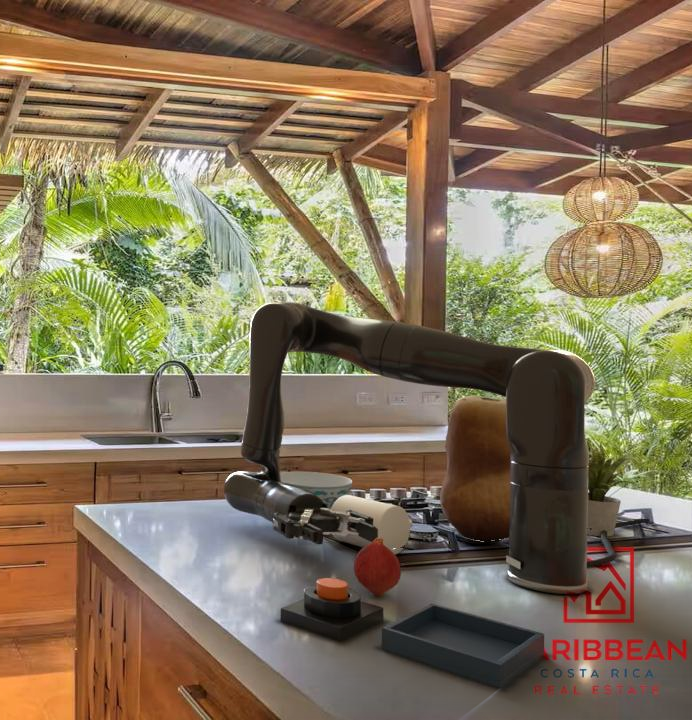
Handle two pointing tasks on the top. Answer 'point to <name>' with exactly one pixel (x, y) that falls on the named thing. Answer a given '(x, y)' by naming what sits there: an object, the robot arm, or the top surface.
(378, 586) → the onion
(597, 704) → the top surface
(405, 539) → the mug
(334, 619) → the panel
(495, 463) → the butternut squash
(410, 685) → the top surface
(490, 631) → the tray
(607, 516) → the house plant
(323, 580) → the button
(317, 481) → the chinaware
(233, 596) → the top surface
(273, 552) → the top surface
